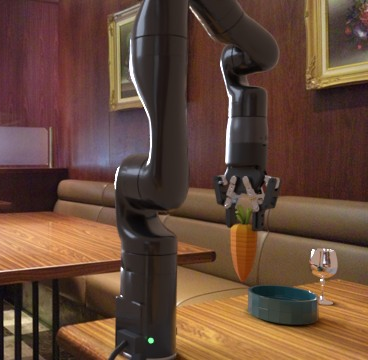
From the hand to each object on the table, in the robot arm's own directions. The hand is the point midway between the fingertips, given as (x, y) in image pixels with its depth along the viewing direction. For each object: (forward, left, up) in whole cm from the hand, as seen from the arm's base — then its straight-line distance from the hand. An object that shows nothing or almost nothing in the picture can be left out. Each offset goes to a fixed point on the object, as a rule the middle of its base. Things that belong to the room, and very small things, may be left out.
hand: (244, 228), depth 96 cm
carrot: (0, 0, -11) cm, 11 cm away
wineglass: (+30, 0, -19) cm, 36 cm away
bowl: (+12, -1, -19) cm, 23 cm away
